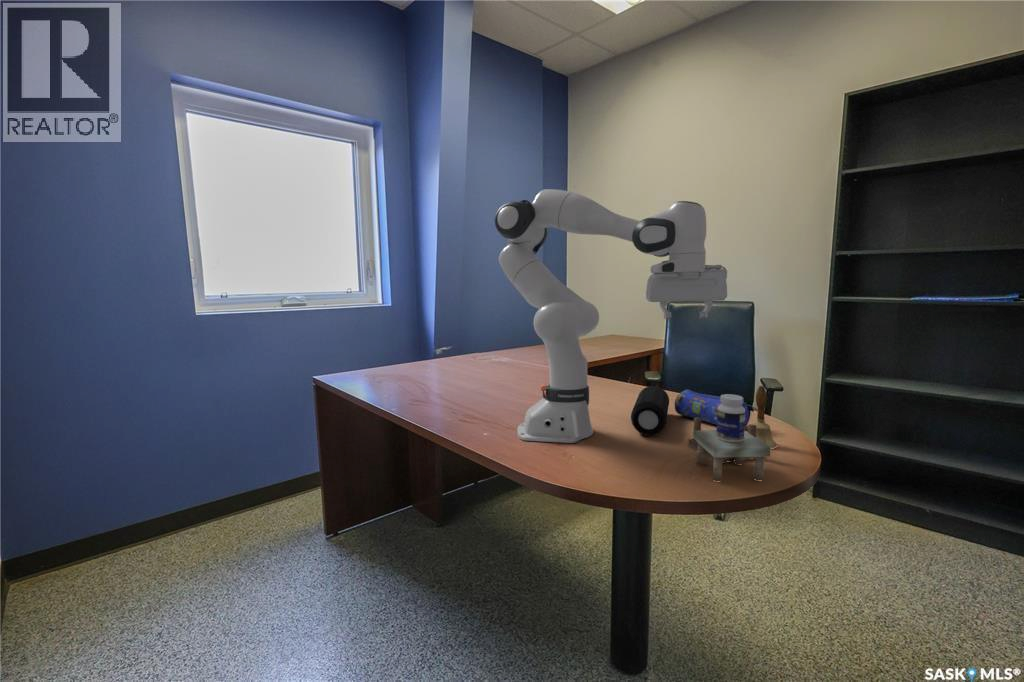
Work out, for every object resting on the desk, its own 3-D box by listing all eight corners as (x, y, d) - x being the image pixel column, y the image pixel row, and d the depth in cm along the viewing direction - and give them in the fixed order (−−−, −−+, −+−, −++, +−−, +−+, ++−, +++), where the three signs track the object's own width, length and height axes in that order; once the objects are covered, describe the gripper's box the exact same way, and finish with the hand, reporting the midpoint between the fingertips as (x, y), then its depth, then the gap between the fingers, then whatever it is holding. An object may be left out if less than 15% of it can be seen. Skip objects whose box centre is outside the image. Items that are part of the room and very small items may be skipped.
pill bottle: (712, 439, 103) (713, 396, 102) (722, 432, 107) (723, 392, 105) (738, 445, 99) (740, 401, 97) (747, 438, 103) (749, 396, 101)
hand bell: (759, 451, 115) (762, 391, 113) (735, 441, 123) (737, 384, 121) (785, 447, 118) (788, 388, 116) (759, 437, 126) (762, 381, 123)
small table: (713, 483, 98) (714, 448, 97) (692, 461, 110) (693, 430, 109) (768, 482, 98) (770, 447, 97) (742, 460, 110) (743, 429, 109)
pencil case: (754, 429, 133) (755, 397, 131) (738, 435, 128) (739, 403, 126) (687, 412, 150) (688, 384, 149) (671, 417, 146) (672, 388, 144)
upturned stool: (718, 463, 109) (719, 431, 108) (688, 446, 120) (689, 417, 119) (760, 457, 111) (761, 426, 110) (726, 441, 123) (727, 413, 122)
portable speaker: (665, 440, 125) (666, 405, 124) (629, 436, 129) (629, 403, 128) (669, 414, 149) (669, 385, 148) (638, 411, 153) (638, 383, 151)
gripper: (721, 264, 119) (720, 316, 121) (644, 267, 120) (643, 318, 122) (733, 264, 113) (730, 318, 115) (651, 266, 114) (650, 320, 116)
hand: (685, 318), depth 118 cm, fingers open, 8 cm apart
